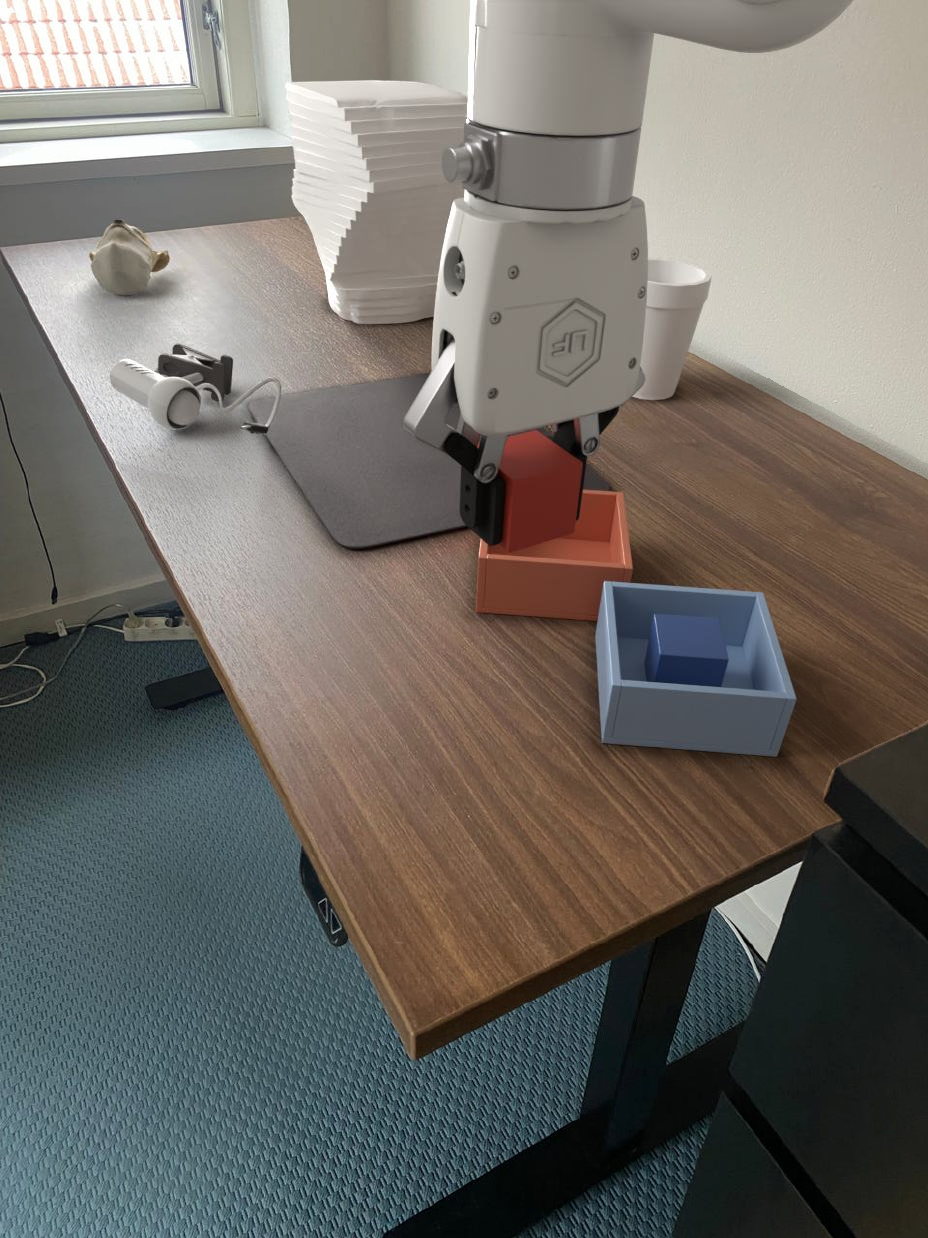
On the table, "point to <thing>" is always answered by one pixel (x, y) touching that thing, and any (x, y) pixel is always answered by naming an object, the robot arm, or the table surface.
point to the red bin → (560, 566)
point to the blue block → (686, 651)
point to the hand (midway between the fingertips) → (520, 519)
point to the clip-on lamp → (183, 386)
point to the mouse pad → (370, 461)
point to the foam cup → (670, 323)
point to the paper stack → (376, 189)
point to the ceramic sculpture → (125, 259)
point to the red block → (537, 491)
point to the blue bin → (689, 714)
